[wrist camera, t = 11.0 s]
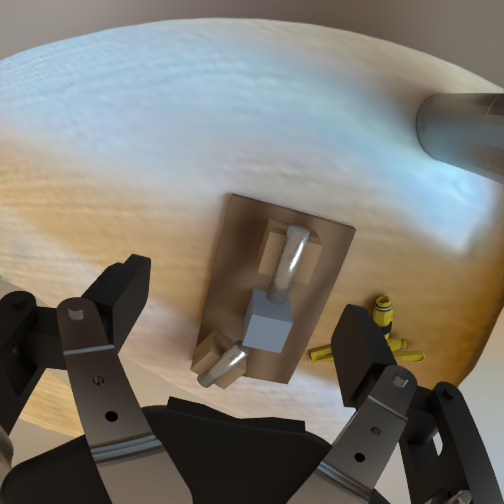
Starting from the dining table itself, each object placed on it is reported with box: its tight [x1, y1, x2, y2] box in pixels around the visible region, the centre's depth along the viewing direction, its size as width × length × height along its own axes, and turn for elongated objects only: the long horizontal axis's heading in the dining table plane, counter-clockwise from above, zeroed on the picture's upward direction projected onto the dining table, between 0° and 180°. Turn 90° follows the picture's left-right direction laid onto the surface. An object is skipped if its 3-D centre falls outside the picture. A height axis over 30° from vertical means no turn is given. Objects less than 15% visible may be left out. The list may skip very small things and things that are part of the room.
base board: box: [190, 194, 356, 389], centre depth 41 cm, size 16×28×6 cm, turn 165°
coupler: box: [242, 289, 293, 353], centre depth 41 cm, size 5×5×6 cm
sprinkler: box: [310, 296, 425, 363], centre depth 45 cm, size 19×4×15 cm
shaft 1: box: [197, 340, 249, 388], centre depth 42 cm, size 2×9×2 cm, turn 140°
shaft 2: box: [266, 224, 310, 304], centre depth 36 cm, size 2×9×2 cm, turn 165°
